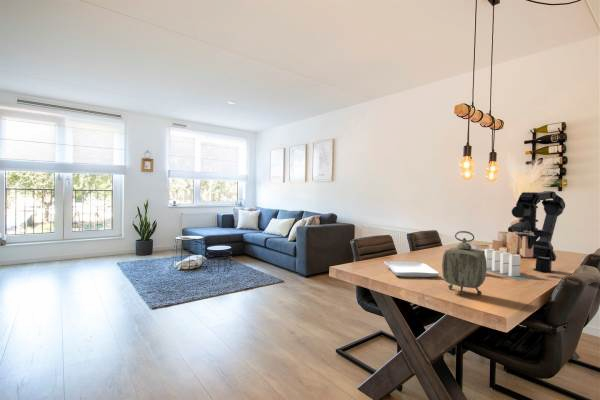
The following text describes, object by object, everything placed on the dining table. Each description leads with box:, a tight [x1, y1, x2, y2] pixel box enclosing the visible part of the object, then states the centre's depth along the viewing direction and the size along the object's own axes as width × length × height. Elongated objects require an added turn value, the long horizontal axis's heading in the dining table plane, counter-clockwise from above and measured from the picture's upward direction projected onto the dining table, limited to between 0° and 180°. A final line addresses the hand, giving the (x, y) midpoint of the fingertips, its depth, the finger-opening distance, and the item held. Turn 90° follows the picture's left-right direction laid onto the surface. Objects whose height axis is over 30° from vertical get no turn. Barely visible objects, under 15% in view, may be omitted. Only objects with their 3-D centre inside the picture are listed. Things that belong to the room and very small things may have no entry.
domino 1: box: [484, 248, 496, 269], centre depth 165 cm, size 5×2×10 cm, turn 102°
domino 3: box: [500, 252, 513, 273], centre depth 155 cm, size 5×2×10 cm, turn 102°
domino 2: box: [492, 250, 504, 271], centre depth 160 cm, size 5×2×10 cm, turn 102°
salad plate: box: [383, 261, 440, 278], centre depth 155 cm, size 21×21×3 cm
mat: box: [486, 268, 538, 281], centre depth 156 cm, size 12×26×1 cm, turn 12°
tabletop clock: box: [441, 230, 487, 296], centre depth 123 cm, size 14×9×25 cm, turn 48°
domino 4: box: [509, 254, 522, 276], centre depth 150 cm, size 5×2×10 cm, turn 102°
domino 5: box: [521, 236, 533, 258], centre depth 155 cm, size 5×2×10 cm, turn 102°
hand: (527, 248), depth 155 cm, fingers closed on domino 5, 2 cm apart
